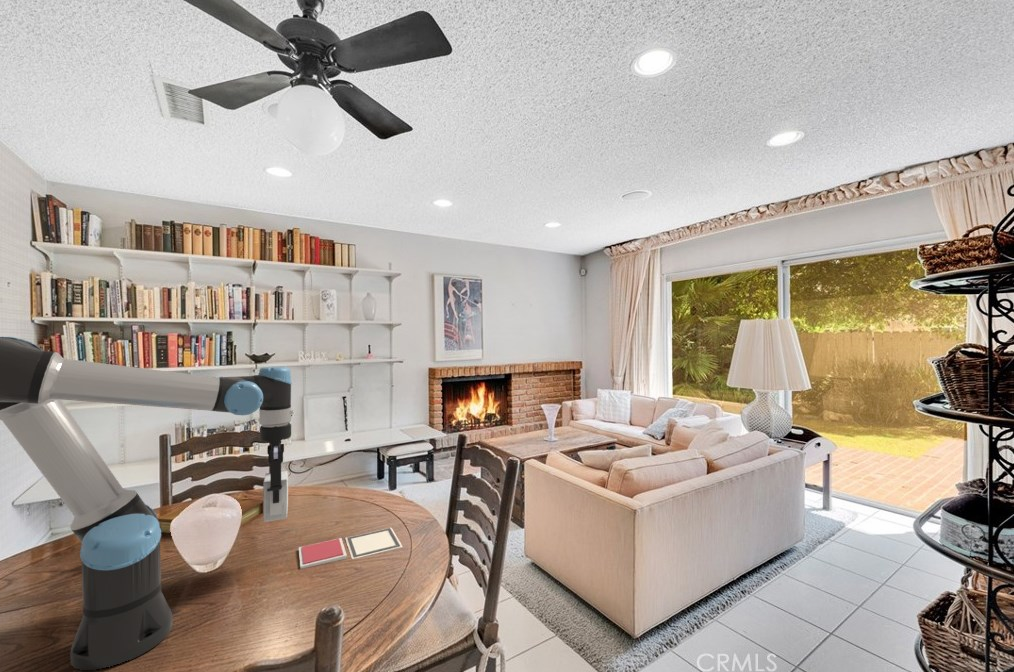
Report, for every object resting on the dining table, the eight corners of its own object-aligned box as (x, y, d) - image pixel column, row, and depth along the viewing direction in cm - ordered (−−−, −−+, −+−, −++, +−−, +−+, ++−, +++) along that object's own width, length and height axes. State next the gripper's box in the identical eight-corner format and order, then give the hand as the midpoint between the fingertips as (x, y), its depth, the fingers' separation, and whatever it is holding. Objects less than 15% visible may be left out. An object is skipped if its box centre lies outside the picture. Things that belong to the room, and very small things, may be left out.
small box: (265, 511, 118) (265, 473, 118) (288, 507, 120) (288, 470, 120) (262, 522, 111) (262, 482, 111) (287, 518, 113) (286, 478, 113)
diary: (265, 515, 149) (264, 498, 149) (220, 541, 131) (219, 522, 131) (208, 511, 153) (208, 495, 153) (157, 535, 135) (156, 517, 135)
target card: (402, 547, 125) (402, 545, 125) (352, 560, 118) (352, 558, 118) (391, 528, 137) (391, 526, 137) (345, 539, 130) (345, 537, 130)
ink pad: (346, 559, 119) (346, 554, 119) (300, 571, 113) (300, 565, 113) (341, 541, 129) (341, 536, 129) (298, 551, 123) (298, 546, 123)
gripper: (292, 430, 108) (292, 520, 108) (290, 416, 126) (290, 493, 126) (257, 433, 104) (258, 526, 104) (261, 418, 123) (261, 497, 123)
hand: (276, 508), depth 115 cm, fingers closed on small box, 8 cm apart
